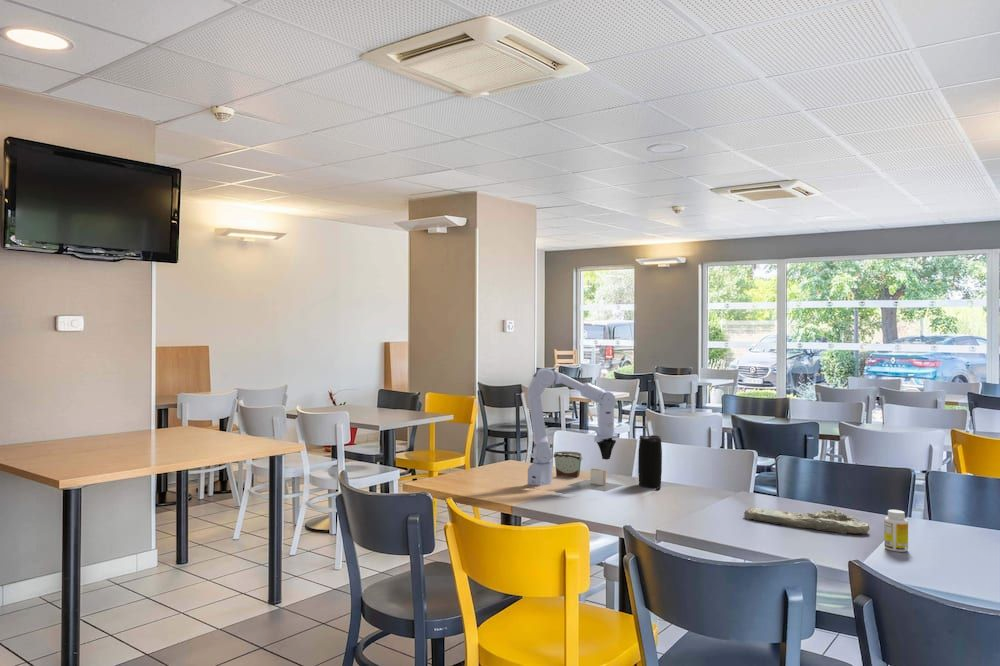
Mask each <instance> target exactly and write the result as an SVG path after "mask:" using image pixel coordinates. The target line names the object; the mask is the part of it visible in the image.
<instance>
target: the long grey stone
mask: <svg viewBox="0 0 1000 666" xmlns="http://www.w3.org/2000/svg"><path fill="white" fill-rule="evenodd" d="M743 514H744V518H745V517H746V518H748V519H747V520H749V519H753V520H754V521H759V522H765V523H768V522H769V524H774V525H778V524H779V525H781V524H782V526H785V525H788V526H787V527H792V526H793V528H798V527H799V528H801V529H813V530H817V531H822V532H833V533H837V532H838V534H842V533H845V534H844V535H846V534H868V533H869V531H870V524H869V523H867V522H864V521H861V520H858V519H857V518H855V517H854V516H851V515H846V514H845V513H843V512H838V511H837V510H836V509H828V510H822V511H821V512H818V511H817V512H812V513H810V512H807V513H804V512H803V513H800V512H794V511H781V510H776V509H775V510H773V509H770V508H769V509H766V508H759V507H749V508H745V511H744V512H743ZM746 518H745V519H746Z"/></svg>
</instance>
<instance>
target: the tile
mask: <svg viewBox="0 0 1000 666" xmlns="http://www.w3.org/2000/svg"><path fill="white" fill-rule="evenodd" d="M606 473H607V472H606V470H605V469H599V468H591V469H590V480H591V484H596V485H602V486H604V485H606V483H607V482H606V481H607V479H606V478H607V476H606Z"/></svg>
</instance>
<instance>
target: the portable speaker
mask: <svg viewBox="0 0 1000 666" xmlns="http://www.w3.org/2000/svg"><path fill="white" fill-rule="evenodd" d="M638 438H639V443H638V456H637V457H638V463H637V464H638V465H637V466H638V469H637V471H638V475H637V476H638V486H639V487H641V488H647V489H654V490H655V491H656V490H657V492H659V491H661V486H662V474H663V473H662V471H663V470H662V469H663V464H662V463H663V450H662V449H663V448H662V447H663V446H662V439H661V436H660V435H656V434H655V435H653V434H652V435H645V436H644V435H639V437H638Z"/></svg>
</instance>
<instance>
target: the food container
mask: <svg viewBox="0 0 1000 666" xmlns="http://www.w3.org/2000/svg"><path fill="white" fill-rule="evenodd" d="M553 458H554V464H555V476H556V477H560V476H564V477H565V476H566V477H571V478H579V477H580V473H581V462H582V461H583V460H584V458H583V455H582V453H580V452H577V451H566V450H565V451H555V452H554V453H553Z"/></svg>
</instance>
